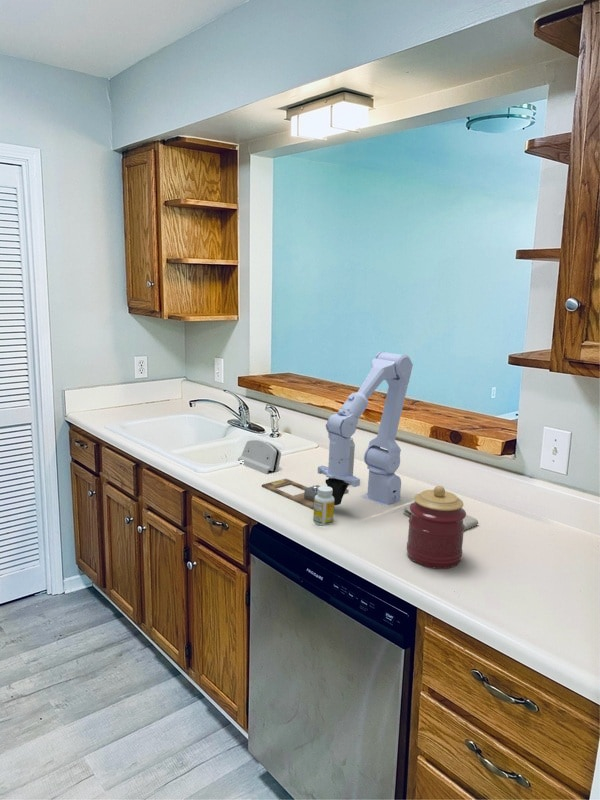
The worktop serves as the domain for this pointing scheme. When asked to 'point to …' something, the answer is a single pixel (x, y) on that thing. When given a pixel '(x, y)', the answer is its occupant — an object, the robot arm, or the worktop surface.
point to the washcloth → (467, 521)
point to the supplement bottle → (323, 506)
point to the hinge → (261, 456)
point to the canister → (436, 528)
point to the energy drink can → (351, 456)
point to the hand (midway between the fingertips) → (336, 503)
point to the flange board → (285, 482)
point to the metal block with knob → (311, 493)
